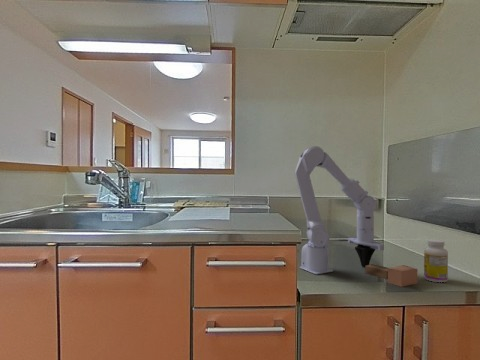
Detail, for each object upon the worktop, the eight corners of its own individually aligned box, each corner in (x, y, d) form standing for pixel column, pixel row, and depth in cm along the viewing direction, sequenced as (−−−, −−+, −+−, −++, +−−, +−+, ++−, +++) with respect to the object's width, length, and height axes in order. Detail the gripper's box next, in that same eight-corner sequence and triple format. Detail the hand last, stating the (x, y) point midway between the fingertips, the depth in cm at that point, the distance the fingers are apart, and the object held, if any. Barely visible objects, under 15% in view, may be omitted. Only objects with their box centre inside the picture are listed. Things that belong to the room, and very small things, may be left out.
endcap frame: (349, 269, 120) (349, 257, 120) (364, 266, 123) (364, 254, 123) (401, 286, 101) (401, 272, 101) (417, 283, 104) (417, 268, 104)
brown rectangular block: (365, 274, 115) (365, 265, 115) (372, 272, 117) (372, 264, 117) (387, 280, 108) (387, 271, 108) (393, 278, 111) (393, 269, 111)
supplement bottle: (426, 275, 112) (426, 237, 112) (449, 279, 108) (449, 240, 108) (422, 280, 107) (422, 240, 107) (446, 284, 103) (446, 243, 103)
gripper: (390, 230, 113) (390, 270, 114) (357, 225, 126) (357, 260, 126) (375, 232, 110) (375, 273, 110) (343, 226, 123) (343, 263, 123)
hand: (365, 266), depth 118 cm, fingers closed
